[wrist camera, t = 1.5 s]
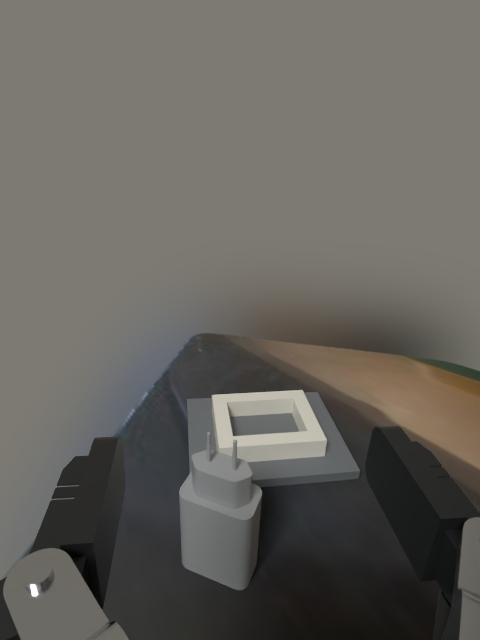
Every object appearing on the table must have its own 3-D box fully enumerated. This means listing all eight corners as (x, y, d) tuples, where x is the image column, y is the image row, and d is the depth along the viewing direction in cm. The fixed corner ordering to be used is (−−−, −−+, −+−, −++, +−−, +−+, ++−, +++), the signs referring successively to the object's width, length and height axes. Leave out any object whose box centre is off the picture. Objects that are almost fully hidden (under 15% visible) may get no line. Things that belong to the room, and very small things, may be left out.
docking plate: (316, 398, 50) (319, 378, 49) (358, 478, 39) (363, 454, 37) (187, 406, 48) (186, 385, 47) (190, 493, 36) (189, 468, 35)
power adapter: (245, 593, 28) (253, 465, 24) (178, 565, 30) (172, 440, 25) (259, 555, 31) (269, 432, 26) (196, 531, 33) (195, 411, 28)
